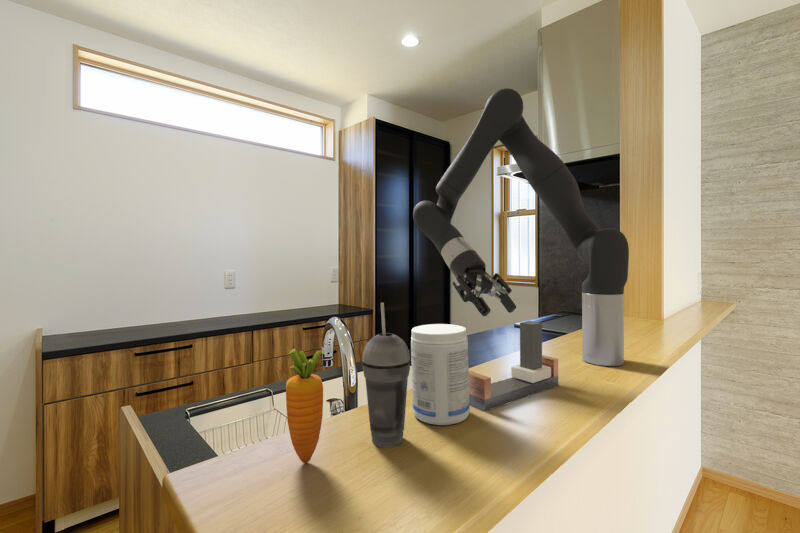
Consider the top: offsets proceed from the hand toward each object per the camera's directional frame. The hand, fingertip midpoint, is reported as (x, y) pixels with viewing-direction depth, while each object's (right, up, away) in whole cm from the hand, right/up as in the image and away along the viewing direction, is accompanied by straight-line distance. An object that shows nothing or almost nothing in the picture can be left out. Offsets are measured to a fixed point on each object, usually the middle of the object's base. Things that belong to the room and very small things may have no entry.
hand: (500, 312), depth 82 cm
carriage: (+5, -12, -6) cm, 15 cm away
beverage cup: (-24, -16, -27) cm, 39 cm away
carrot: (-34, -16, -33) cm, 50 cm away
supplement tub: (-15, -15, -19) cm, 28 cm away
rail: (0, -15, -9) cm, 17 cm away
